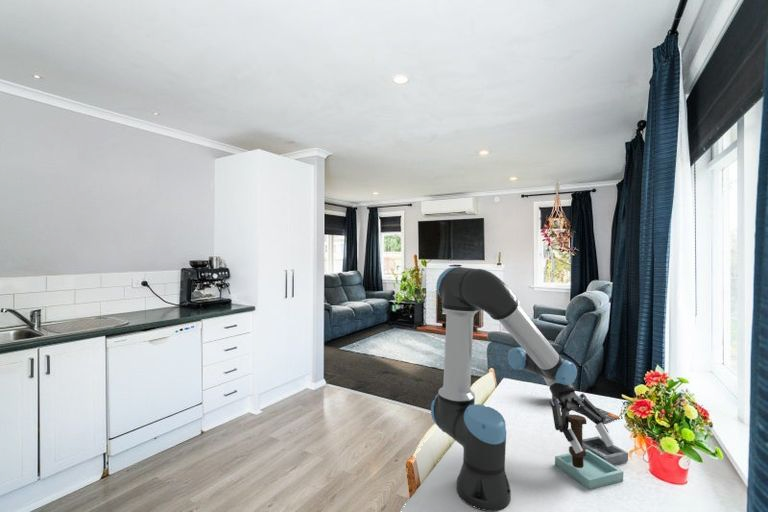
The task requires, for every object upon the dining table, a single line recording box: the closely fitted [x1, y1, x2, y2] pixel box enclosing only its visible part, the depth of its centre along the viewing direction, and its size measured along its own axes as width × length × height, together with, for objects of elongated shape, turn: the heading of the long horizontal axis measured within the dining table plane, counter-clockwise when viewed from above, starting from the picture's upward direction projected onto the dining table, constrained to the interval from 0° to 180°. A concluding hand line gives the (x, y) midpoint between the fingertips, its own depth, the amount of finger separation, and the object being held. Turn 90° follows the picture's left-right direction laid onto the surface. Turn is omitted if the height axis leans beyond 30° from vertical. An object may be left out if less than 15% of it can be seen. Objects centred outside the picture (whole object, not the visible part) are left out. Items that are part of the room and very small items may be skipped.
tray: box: [554, 450, 624, 491], centre depth 116 cm, size 14×13×3 cm
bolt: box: [567, 414, 587, 468], centre depth 115 cm, size 6×5×15 cm
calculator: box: [574, 406, 620, 425], centre depth 159 cm, size 12×1×15 cm
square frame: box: [582, 435, 629, 466], centre depth 126 cm, size 10×11×3 cm
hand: (595, 448), depth 114 cm, fingers open, 12 cm apart
